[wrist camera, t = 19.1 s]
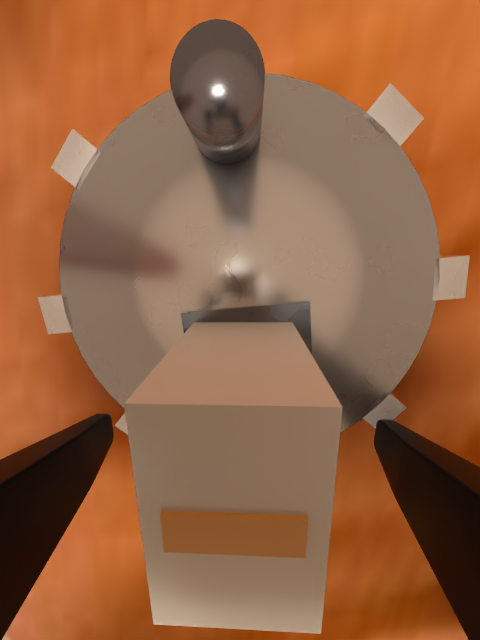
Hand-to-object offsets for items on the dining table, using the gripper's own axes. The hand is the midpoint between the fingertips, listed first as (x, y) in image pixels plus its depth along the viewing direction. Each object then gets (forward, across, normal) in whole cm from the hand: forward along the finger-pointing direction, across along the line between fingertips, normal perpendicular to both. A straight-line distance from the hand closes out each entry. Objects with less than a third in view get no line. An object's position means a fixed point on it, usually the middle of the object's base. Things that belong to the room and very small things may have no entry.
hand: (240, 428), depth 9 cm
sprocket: (+5, 0, -4) cm, 6 cm away
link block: (+3, 0, 0) cm, 3 cm away
